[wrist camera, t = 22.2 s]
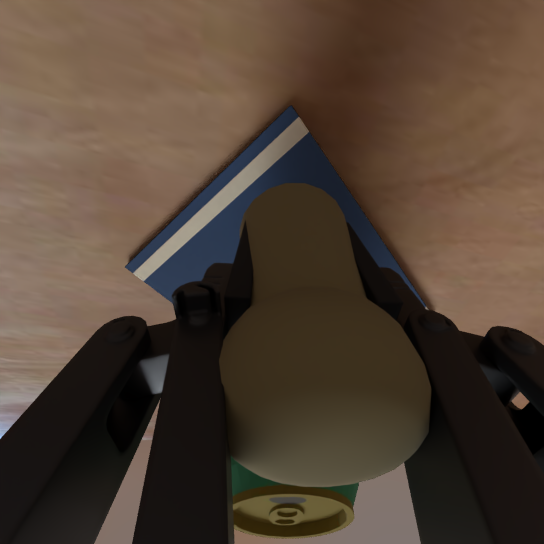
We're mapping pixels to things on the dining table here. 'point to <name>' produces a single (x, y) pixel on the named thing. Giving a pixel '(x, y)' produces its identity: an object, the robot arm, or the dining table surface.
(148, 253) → the towel
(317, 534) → the beverage can
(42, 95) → the dining table surface
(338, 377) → the olive game pawn
